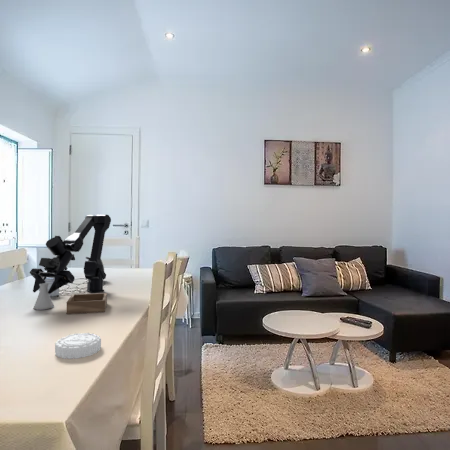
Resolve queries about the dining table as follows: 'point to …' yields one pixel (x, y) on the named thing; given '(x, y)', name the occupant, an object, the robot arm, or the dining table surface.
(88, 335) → the mooncake
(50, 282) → the medicine box
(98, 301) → the walled box
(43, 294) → the flask
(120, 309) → the dining table surface
